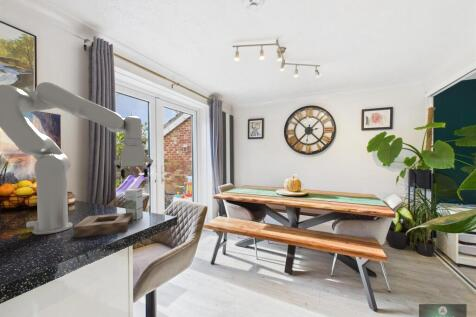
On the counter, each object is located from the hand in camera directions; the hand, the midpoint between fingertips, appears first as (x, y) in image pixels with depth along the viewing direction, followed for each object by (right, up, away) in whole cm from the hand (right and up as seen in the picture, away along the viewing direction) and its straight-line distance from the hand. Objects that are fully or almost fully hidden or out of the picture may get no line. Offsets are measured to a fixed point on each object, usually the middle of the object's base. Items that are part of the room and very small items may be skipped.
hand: (134, 177), depth 104 cm
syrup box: (0, -20, 0) cm, 20 cm away
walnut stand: (-5, -20, -14) cm, 25 cm away
